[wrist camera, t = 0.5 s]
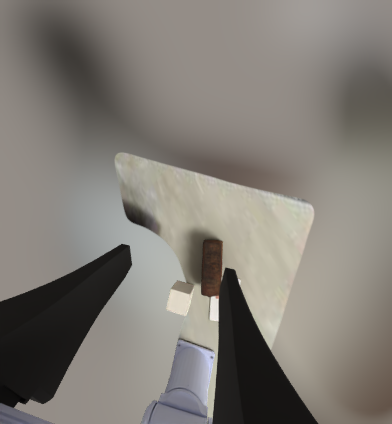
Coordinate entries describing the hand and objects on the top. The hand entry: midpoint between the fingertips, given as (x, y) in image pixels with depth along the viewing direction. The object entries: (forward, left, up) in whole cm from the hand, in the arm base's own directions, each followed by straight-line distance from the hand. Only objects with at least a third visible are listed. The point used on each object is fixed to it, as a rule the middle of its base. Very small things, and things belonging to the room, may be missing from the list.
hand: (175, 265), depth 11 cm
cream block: (-12, +2, -24) cm, 27 cm away
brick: (-4, -3, -24) cm, 24 cm away
